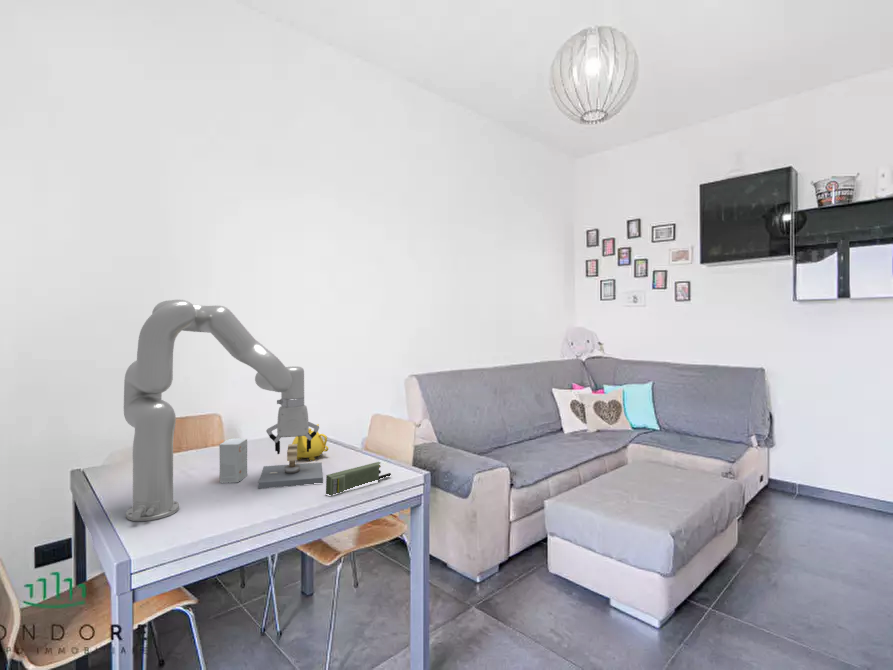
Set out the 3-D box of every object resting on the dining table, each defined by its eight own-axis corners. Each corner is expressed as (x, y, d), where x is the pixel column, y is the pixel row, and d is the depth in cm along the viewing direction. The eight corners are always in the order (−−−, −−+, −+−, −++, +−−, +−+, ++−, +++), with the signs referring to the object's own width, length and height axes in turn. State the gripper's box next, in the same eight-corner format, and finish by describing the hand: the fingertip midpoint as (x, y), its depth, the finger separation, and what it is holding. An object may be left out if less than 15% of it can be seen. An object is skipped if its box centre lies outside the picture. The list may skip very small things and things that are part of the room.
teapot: (318, 465, 176) (319, 435, 176) (280, 464, 177) (281, 433, 177) (336, 451, 196) (337, 424, 195) (302, 450, 197) (302, 422, 197)
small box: (229, 475, 163) (229, 438, 163) (247, 475, 163) (247, 438, 163) (218, 483, 155) (218, 444, 155) (238, 483, 155) (238, 444, 155)
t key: (299, 474, 158) (299, 451, 157) (283, 476, 156) (284, 452, 156) (300, 466, 167) (300, 443, 167) (285, 467, 166) (285, 444, 166)
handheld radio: (324, 495, 146) (387, 477, 164) (330, 498, 144) (393, 479, 162) (324, 474, 146) (387, 458, 164) (330, 477, 144) (393, 460, 162)
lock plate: (322, 483, 156) (322, 477, 156) (258, 488, 150) (258, 482, 150) (321, 467, 173) (321, 461, 173) (263, 471, 168) (263, 465, 168)
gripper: (265, 405, 155) (265, 457, 156) (319, 403, 160) (319, 453, 161) (267, 402, 162) (267, 451, 163) (318, 399, 167) (319, 447, 168)
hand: (293, 452), depth 162 cm, fingers open, 9 cm apart
